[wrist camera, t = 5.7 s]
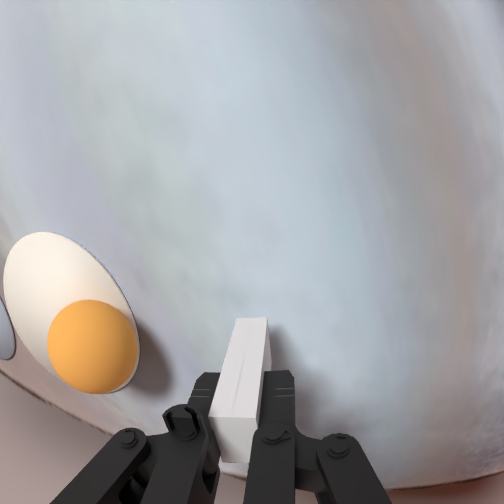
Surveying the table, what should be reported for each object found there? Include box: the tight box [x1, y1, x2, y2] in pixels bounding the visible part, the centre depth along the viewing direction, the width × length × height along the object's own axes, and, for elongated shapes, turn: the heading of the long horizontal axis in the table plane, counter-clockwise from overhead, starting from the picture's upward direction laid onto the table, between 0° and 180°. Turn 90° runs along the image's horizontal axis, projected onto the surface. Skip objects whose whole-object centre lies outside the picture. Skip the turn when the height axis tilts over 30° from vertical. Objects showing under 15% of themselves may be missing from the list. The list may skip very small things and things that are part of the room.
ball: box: [47, 300, 137, 394], centre depth 15 cm, size 6×6×6 cm
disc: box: [3, 232, 140, 393], centre depth 18 cm, size 13×13×1 cm
